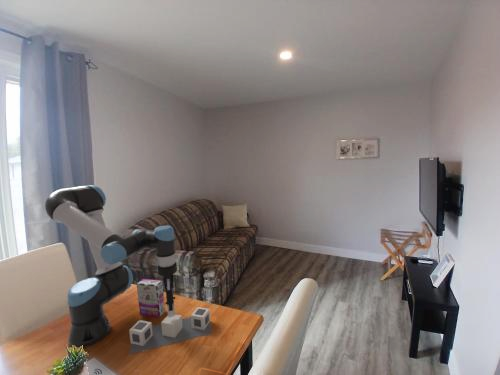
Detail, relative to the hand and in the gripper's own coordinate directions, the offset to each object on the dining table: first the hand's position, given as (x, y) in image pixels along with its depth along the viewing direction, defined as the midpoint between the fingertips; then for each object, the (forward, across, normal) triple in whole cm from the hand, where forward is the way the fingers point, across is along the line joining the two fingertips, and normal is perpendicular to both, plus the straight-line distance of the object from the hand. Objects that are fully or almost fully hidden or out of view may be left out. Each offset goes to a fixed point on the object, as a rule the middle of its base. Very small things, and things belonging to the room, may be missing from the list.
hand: (171, 315), depth 105 cm
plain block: (+8, 0, 0) cm, 8 cm away
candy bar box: (+8, +17, +9) cm, 21 cm away
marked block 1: (+8, 0, +12) cm, 14 cm away
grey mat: (+8, 0, 0) cm, 8 cm away
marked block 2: (+8, 0, -12) cm, 14 cm away
